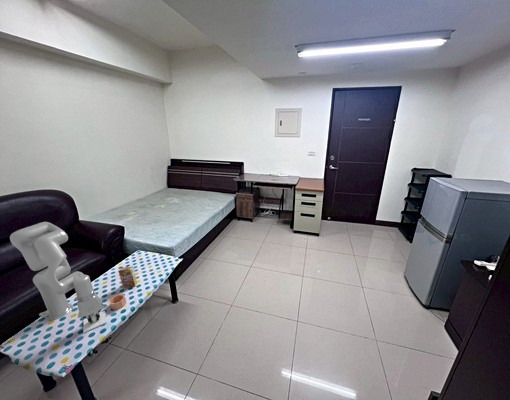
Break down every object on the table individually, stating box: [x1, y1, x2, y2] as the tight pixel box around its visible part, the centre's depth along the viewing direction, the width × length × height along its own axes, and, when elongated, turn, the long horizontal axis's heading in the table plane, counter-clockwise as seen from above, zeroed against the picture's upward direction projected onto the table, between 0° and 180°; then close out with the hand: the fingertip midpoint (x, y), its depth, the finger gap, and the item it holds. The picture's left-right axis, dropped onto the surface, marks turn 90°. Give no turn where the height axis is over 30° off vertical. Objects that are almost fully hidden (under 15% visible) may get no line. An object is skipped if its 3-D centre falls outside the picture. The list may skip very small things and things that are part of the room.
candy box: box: [118, 266, 138, 289], centre depth 159 cm, size 9×4×15 cm, turn 98°
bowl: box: [108, 293, 127, 311], centre depth 143 cm, size 9×9×5 cm
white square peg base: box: [83, 310, 108, 334], centre depth 130 cm, size 11×11×6 cm
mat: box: [84, 323, 107, 334], centre depth 131 cm, size 10×12×1 cm
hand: (94, 320), depth 130 cm, fingers closed on white square peg base, 3 cm apart
